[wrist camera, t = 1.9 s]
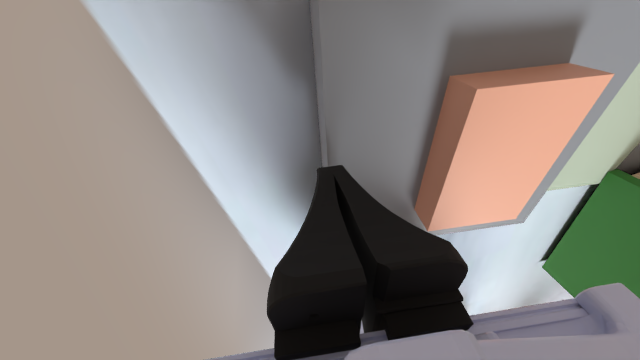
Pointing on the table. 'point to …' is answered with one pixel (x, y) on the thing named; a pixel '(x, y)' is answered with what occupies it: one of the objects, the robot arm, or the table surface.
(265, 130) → the table surface
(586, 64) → the block
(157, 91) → the table surface
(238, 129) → the table surface
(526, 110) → the terracotta tile
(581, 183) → the sage mat
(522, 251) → the table surface
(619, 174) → the hardback book
